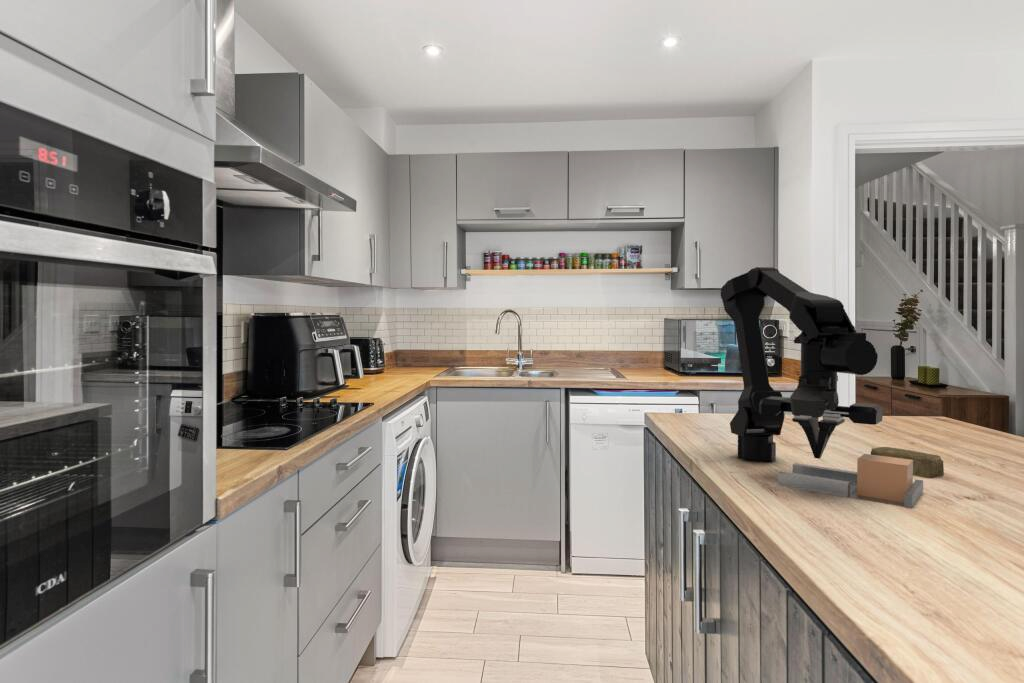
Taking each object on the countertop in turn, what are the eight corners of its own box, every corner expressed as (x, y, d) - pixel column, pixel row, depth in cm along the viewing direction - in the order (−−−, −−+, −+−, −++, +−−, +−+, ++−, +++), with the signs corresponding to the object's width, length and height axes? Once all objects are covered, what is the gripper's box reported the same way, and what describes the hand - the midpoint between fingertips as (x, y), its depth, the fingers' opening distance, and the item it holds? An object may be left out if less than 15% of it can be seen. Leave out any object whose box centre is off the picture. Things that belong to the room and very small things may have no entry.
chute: (776, 490, 105) (776, 473, 105) (796, 477, 113) (796, 462, 113) (911, 514, 92) (912, 495, 91) (922, 498, 100) (923, 480, 100)
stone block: (931, 485, 108) (931, 458, 108) (865, 472, 118) (866, 447, 118) (945, 480, 111) (946, 454, 111) (881, 468, 121) (881, 444, 121)
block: (857, 494, 99) (857, 458, 99) (864, 488, 103) (864, 453, 102) (906, 503, 94) (907, 465, 94) (912, 496, 98) (913, 459, 98)
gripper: (748, 370, 105) (747, 458, 105) (869, 376, 92) (867, 476, 93) (769, 366, 113) (769, 448, 114) (883, 371, 101) (882, 463, 101)
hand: (817, 458), depth 105 cm, fingers closed
